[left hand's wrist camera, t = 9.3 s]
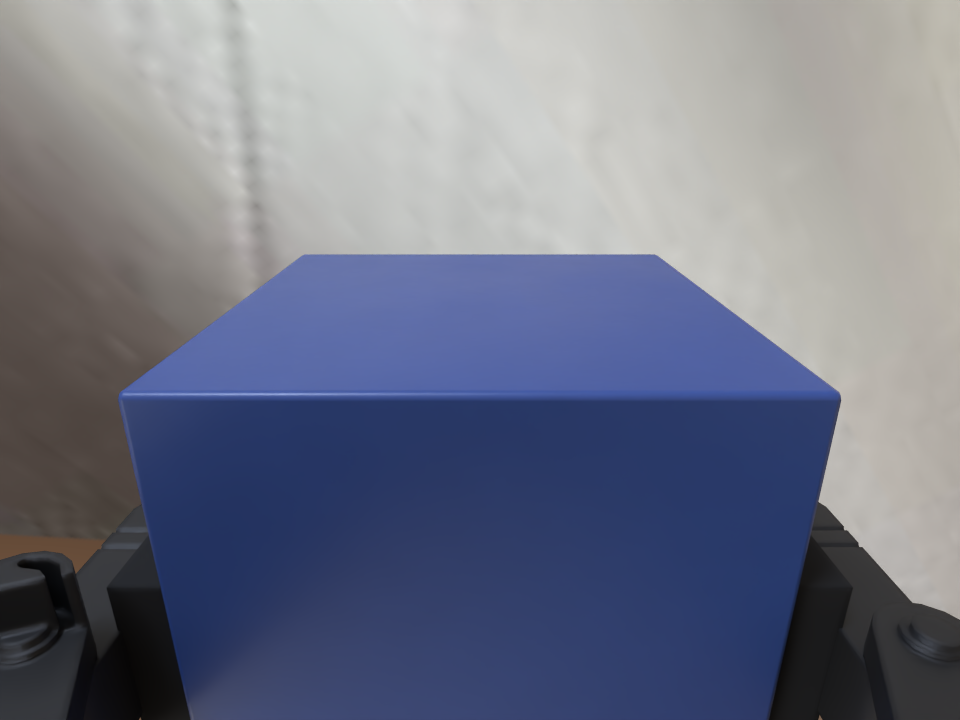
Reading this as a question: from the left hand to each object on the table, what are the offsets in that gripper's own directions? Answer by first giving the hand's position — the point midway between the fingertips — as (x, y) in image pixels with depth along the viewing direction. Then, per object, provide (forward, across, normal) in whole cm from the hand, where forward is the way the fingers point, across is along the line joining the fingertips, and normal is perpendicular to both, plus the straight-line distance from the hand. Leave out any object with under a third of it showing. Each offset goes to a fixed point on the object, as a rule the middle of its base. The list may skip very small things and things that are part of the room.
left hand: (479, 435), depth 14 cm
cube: (+1, 0, 0) cm, 1 cm away
